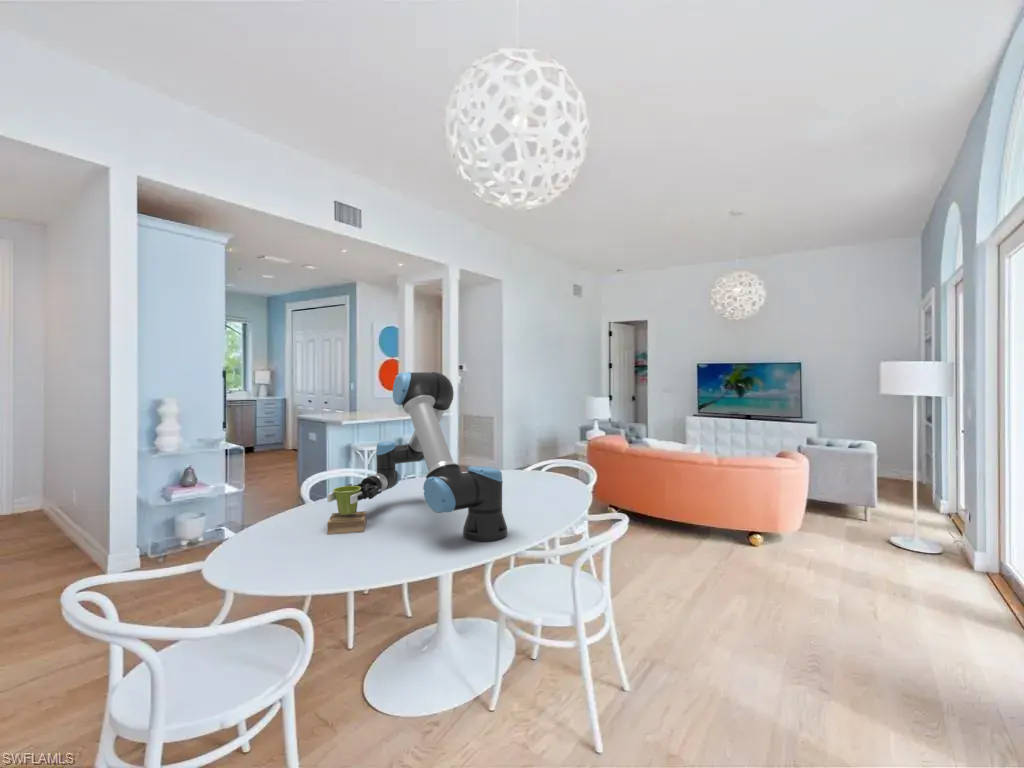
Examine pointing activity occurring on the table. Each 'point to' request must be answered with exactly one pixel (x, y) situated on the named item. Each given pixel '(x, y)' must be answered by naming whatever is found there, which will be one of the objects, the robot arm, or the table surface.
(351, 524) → the oak plinth
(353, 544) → the table surface
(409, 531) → the table surface
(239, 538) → the table surface
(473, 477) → the robot arm
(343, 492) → the plant pot
